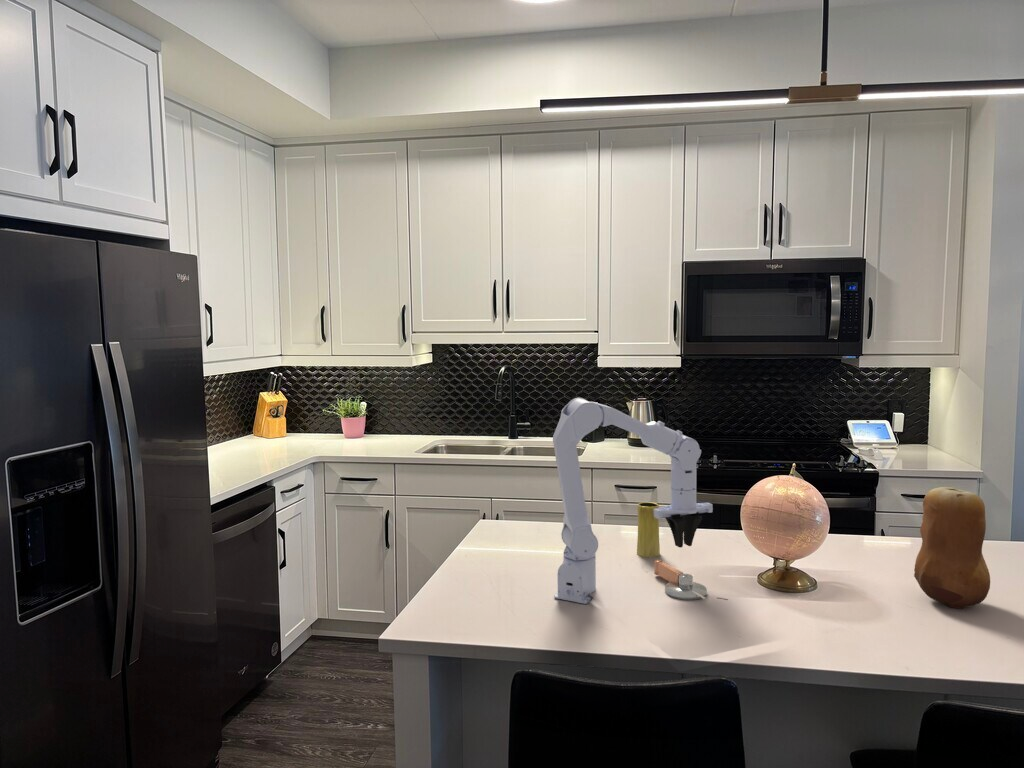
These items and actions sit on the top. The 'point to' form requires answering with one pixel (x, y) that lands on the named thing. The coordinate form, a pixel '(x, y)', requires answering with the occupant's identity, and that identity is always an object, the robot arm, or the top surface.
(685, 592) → the pizza cutter
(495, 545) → the top surface
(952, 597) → the butternut squash
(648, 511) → the vase
